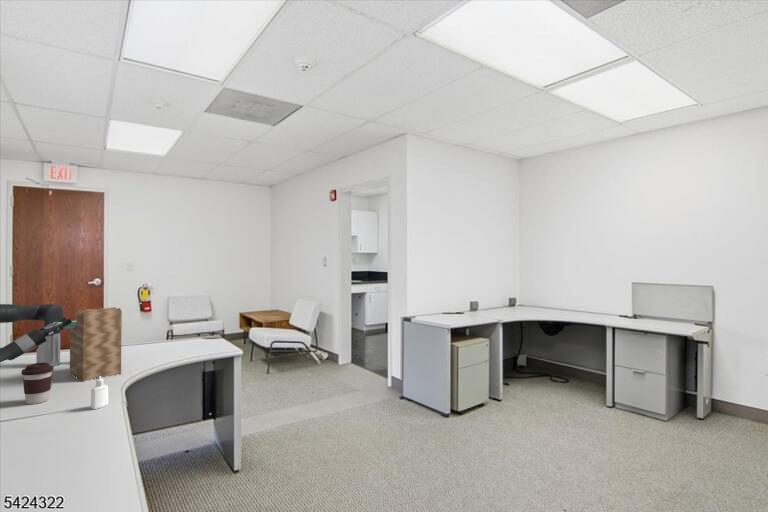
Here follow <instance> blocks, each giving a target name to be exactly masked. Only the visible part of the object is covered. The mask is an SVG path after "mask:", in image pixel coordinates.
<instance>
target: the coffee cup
mask: <svg viewBox="0 0 768 512" xmlns="http://www.w3.org/2000/svg"><path fill="white" fill-rule="evenodd" d="M54 368H55V366H50V365H49V363H30V364H27V365H26V367H25V368H24V369H22V370H21V374H20V375H22V376H23V379H22V383H23V394H24V398H25V399H24V400H25V404H27V405H35V404H36V405H37V404H42V403H45V402H47V401H49V400H50V393H51V392H50V391H51V388H52V380H53V379H52V378H53V375H52V373H53V371H54Z"/></svg>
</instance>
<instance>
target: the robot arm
mask: <svg viewBox="0 0 768 512" xmlns="http://www.w3.org/2000/svg"><path fill="white" fill-rule="evenodd" d="M21 321H41V322H43V324H44V325H43V327H41V328H39V329H38V328H35V329H32V330H30V331H29V332H27V333H24V334H23V335H22V336H20V337H17V338H16V339H15V340H13V341H12V342H9V343H8V344H6V345H5V346H3V347H0V363H2V362H5V361H13V360H16V359H17V358H19V357H21V356H23V355H24V354H26V353H28V352H30V351H32V350H34V349H35V348H36V357H35V359H36V363H49V365H50V366H53V367H55V366H54V365H56V366H59V365H60V364H61V331H63V330H65V329H64V327H65V326H67V325H68V324H70V323H72V321H73V320H71V318H68V319H67V318H66V317H64V311H63V308H62V307H61V306H60V305H58V304H55V303H54V304H52V303H51V304H48V303H47V304H46V303H45V304H44V303H43V304H38V305H21V304H13V303H12V304H11V303H10V304H9V303H0V324H5V323H6V324H7V323H8V324H9V323H14V322H15V323H16V322H21ZM57 322H62V323H60V324H58V325H56V323H57ZM58 327H59V328H58ZM37 347H38V348H37ZM58 364H59V365H58Z"/></svg>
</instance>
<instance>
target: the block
mask: <svg viewBox="0 0 768 512" xmlns="http://www.w3.org/2000/svg"><path fill="white" fill-rule="evenodd" d="M71 321H72V323H70V324H68V325H67V326H65V327H64V329H63V330H68V329H70V328H75V326H77V320H71ZM60 323H62V322H57V323H56V325H58V324H60ZM58 328H59V327H58Z"/></svg>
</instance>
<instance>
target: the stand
mask: <svg viewBox="0 0 768 512" xmlns="http://www.w3.org/2000/svg"><path fill="white" fill-rule="evenodd" d="M122 315H123V314H122V310H121V308H120V307H118V308H117V307H103V308H102V307H101V308H90V309H89V308H88V309H79V310H77V311H76V321H77V326H75V328H69V329H70V330H69V375H70V374H71V375H70V376H72V375H73V376H72V377H74V376H75V377H74V378H76V377H77V378H76V379H78V380H79V379H80V380H79V381H81V380H82V381H81V382H87V381H86V380H88V381H92V380H91V379H93V380H96V379H95V378H99V376H101V377H104V378H106V376H109V377H113V376H112V375H114V376H118V375H117V374H119V375H122V318H123V317H122Z"/></svg>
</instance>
